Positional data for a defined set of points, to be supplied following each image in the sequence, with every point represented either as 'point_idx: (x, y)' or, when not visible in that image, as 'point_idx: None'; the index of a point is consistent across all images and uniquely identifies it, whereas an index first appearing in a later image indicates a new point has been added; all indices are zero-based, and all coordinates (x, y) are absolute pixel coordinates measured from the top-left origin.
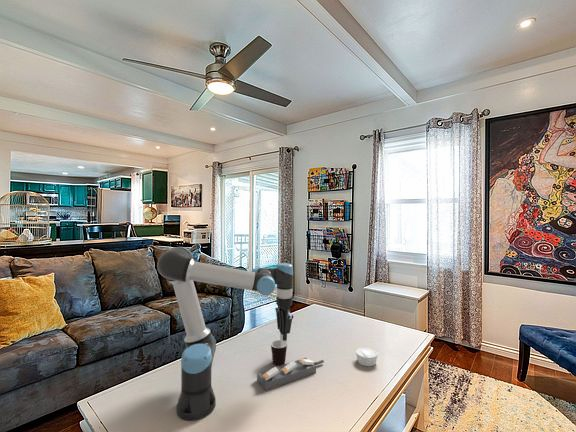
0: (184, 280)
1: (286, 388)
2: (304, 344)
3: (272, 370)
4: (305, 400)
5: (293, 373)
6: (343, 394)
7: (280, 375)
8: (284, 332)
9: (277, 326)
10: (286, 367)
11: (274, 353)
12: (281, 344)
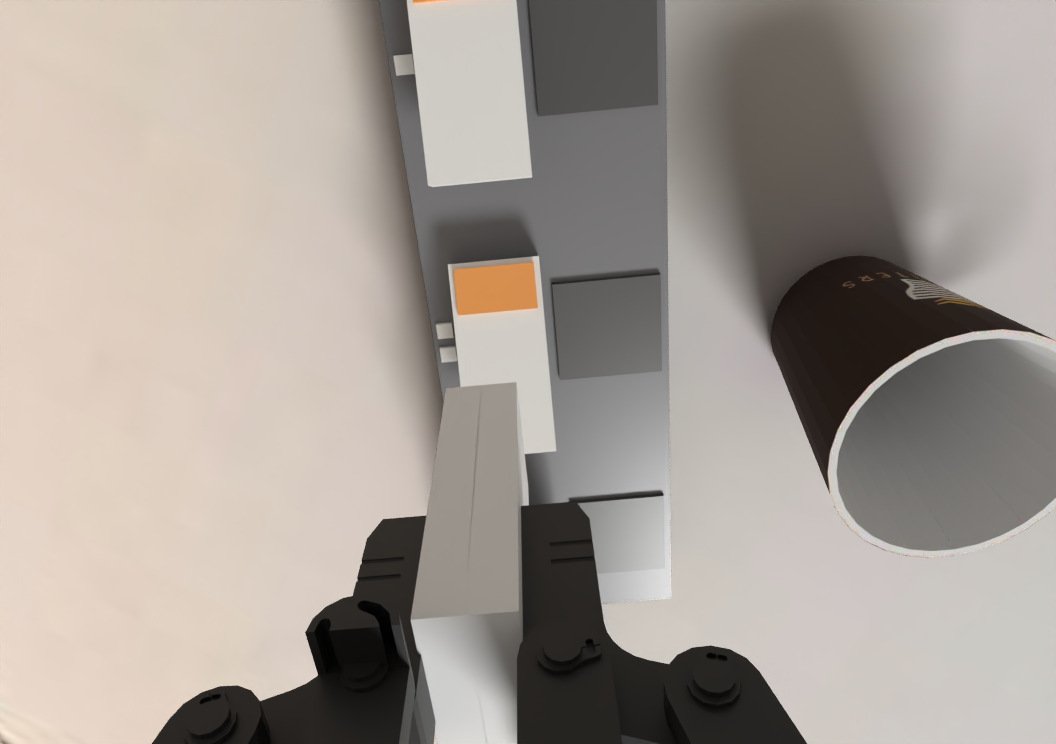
0: None
1: (343, 197)
2: (983, 686)
3: (487, 104)
4: (93, 288)
5: (438, 359)
6: (104, 601)
7: (460, 200)
8: (211, 729)
9: (781, 712)
10: (512, 324)
11: (881, 313)
12: (449, 423)
